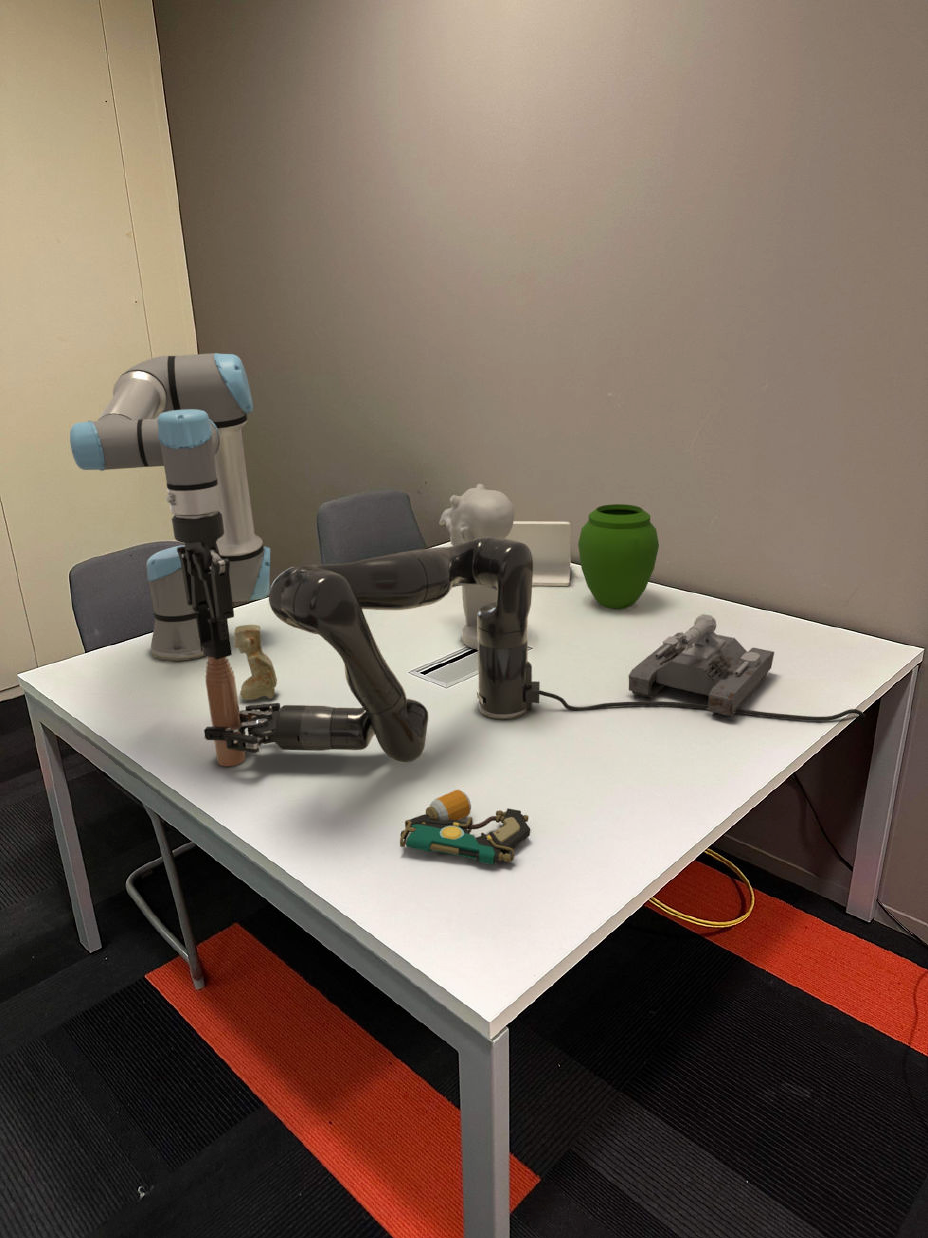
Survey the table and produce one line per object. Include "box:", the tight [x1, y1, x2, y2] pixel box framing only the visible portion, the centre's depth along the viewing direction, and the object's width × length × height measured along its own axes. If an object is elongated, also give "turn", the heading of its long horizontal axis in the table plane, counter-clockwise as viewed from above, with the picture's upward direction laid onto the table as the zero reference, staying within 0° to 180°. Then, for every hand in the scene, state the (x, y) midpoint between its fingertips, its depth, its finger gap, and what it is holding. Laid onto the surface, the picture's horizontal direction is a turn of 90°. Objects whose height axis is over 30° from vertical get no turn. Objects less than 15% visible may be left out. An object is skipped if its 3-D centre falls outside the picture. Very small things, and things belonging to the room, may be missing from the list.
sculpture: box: [233, 624, 278, 701], centre depth 167 cm, size 6×7×15 cm
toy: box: [628, 613, 775, 717], centre depth 166 cm, size 25×20×15 cm
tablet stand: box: [505, 520, 572, 587], centre depth 236 cm, size 18×25×17 cm
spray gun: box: [399, 789, 531, 866], centre depth 122 cm, size 4×17×15 cm
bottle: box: [204, 656, 246, 767], centre depth 143 cm, size 5×5×21 cm
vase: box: [577, 503, 660, 610], centre depth 210 cm, size 20×20×24 cm
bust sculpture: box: [438, 483, 515, 650], centre depth 192 cm, size 16×24×35 cm, turn 28°
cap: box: [202, 640, 214, 658], centre depth 140 cm, size 4×4×2 cm
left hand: (216, 652), depth 140 cm, fingers closed on cap, 4 cm apart
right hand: (211, 725), depth 145 cm, fingers closed on bottle, 4 cm apart
